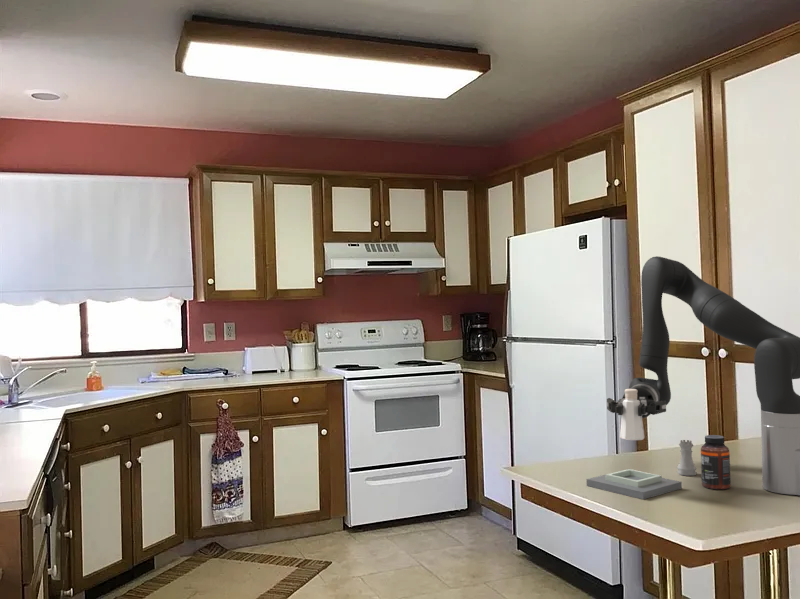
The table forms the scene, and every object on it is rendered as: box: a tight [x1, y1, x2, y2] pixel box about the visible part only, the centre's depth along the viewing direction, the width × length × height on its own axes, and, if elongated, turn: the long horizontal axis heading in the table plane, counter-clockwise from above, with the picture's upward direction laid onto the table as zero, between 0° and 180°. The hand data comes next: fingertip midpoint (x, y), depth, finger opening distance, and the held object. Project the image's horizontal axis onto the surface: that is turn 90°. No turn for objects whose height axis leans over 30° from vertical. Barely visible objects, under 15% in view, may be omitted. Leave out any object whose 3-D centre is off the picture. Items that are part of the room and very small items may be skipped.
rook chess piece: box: [676, 439, 697, 477], centre depth 171 cm, size 4×4×8 cm
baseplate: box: [586, 468, 683, 500], centre depth 160 cm, size 15×14×3 cm
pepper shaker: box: [619, 388, 645, 441], centre depth 160 cm, size 5×5×11 cm
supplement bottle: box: [700, 434, 732, 491], centre depth 159 cm, size 6×6×11 cm
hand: (629, 411), depth 158 cm, fingers closed on pepper shaker, 3 cm apart
